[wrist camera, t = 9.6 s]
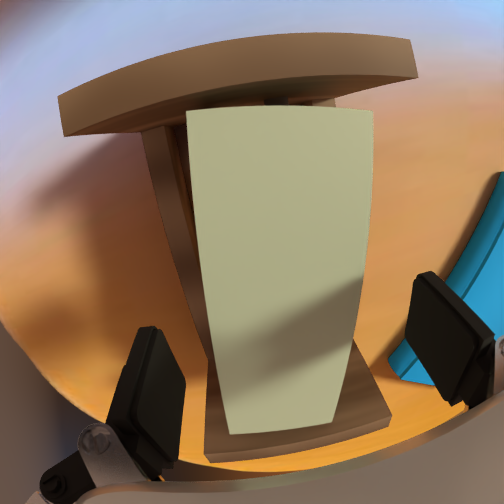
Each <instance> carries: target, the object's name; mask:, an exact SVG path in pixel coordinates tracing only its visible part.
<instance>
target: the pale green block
mask: <svg viewBox="0 0 504 504" xmlns="http://www.w3.org/2000/svg"><path fill="white" fill-rule="evenodd" d="M186 118H187V134H188V148H189V161H190V173H191V184H192V194H193V205H194V214H195V223H196V232H197V241H198V249H199V257H200V265H201V272H202V280H203V287H204V294H205V301H206V307H207V314H208V320H209V327H210V333H211V339H212V345H213V351H214V357H215V362H216V368H217V373H218V379H219V384H220V389H221V394H222V400H223V405H224V409H225V414H226V419H227V424H228V429H229V433H230V434H246V433H259V432H270V431H279V430H287V429H295V428H302V427H308V426H314V425H320V424H325V423H330V422H332V420H333V417H334V413H335V410H336V406H337V403H338V399H339V395H340V392H341V388H342V384H343V380H344V376H345V372H346V368H347V363H348V359H349V354H350V350H351V345H352V340H353V335H354V330H355V325H356V320H357V314H358V309H359V303H360V297H361V290H362V284H363V277H364V269H365V262H366V253H367V244H368V235H369V224H370V212H371V197H372V178H373V111H369V110H360V109H349V108H336V107H319V106H242V107H225V108H212V109H201V110H191V111H186Z"/></svg>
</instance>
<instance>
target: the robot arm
mask: <svg viewBox="0 0 504 504" xmlns="http://www.w3.org/2000/svg"><path fill="white" fill-rule="evenodd" d="M494 336H495V334H494V332H493V331H492V330H491V329H490V328H489V327H488V326H487V325H486V324H485V323H484V322H483V320H482V319H481V318H480V317H479V316H478V315H477V314H476V313H475V312H474V311H473V310H472V309H471V308H470V307H469V306H468V305H467V304H466V303H465V302H464V301H463V300H462V299H461V298H460V297H459V296H458V295H457V294H456V293H455V292H454V291H453V290H452V289H451V288H450V287H449V286H448V285H447V284H446V283H445V282H443V281H442V280H441V279H440V278H439V277H438V276H437V275H436V274H435V273H434V272H432V271H428V272H425V273H421V274H418V275H417V277H416V279H415V280H414V282H413V288H412V295H411V301H410V307H409V313H408V319H407V324H406V329H405V338H406V341H407V342H408V344H409V345H410V347H411V348H412V350H413V351H414V353H415V354H416V356H417V358H418V359H419V361H420V362H421V364H422V365H423V367H424V368H425V370H426V372H427V373H428V375H429V376H430V378H431V380H432V381H433V383H434V385H435V386H436V388H437V390H438V391H439V393H440V395H441V396H442V398H443V399H444V400H445V401H448V402H449V404H450V406H451V407H452V406H454V405H455V404H457V403H459V402H461V401H462V400H463V401H464V403H465V408H464V413H463V414H461V415H459V416H457V417H455V418H453V419H451V420H449V421H447V422H445V423H443V424H441V425H439V426H437V427H435V428H433V429H431V430H429V431H426V432H424V433H422V434H420V435H417V436H415V437H413V438H410V439H408V440H405V441H403V442H400V443H398V444H395V445H392V446H390V447H387V448H384V449H381V450H379V451H376V452H373V453H370V454H366V455H363V456H360V457H357V458H353V459H350V460H346V461H343V462H339V463H335V464H331V465H327V466H323V467H319V468H314V469H309V470H304V471H299V472H294V473H288V474H282V475H276V476H269V477H261V478H252V479H242V480H227V481H208V482H165V481H164V479H163V478H162V477H161V476H160V475H161V474H162V468H166V469H173V465H174V462H176V461H177V460H178V456H179V445H180V434H181V425H182V415H183V406H184V398H185V389H186V381H185V378H184V375H183V374H182V372H181V370H180V368H179V366H178V364H177V362H176V360H175V357H174V355H173V353H172V351H171V349H170V347H169V345H168V343H167V341H166V338H165V336H164V334H163V332H162V330H161V329H157V328H156V327H155V326H149V327H140V328H139V329H138V332H137V334H136V337H135V340H134V343H133V345H132V348H131V351H130V354H129V357H128V359H127V362H126V365H124V367H123V369H122V372H121V375H120V378H119V381H118V384H117V387H116V390H115V393H114V397H113V400H112V403H111V406H110V409H109V413H108V416H107V419H106V423H105V424H104V423H94V424H92V425H89V426H88V427H86V428H85V429H84V430H83V431H82V433H81V434H80V436H79V439H78V449H79V450H78V451H76V452H75V453H73V454H72V455H70V456H69V457H67V458H66V459H64V460H63V461H61V462H60V463H58V464H56V465H55V466H53V467H52V468H50V469H48V470H47V471H46V472H45V473H44V474H43V475H42V477H41V480H40V492H37V491H35V492H34V494H33V495H32V496H31V497H30V498H29V499H28V501H27V502H26V503H25V504H504V335H502V336H500V337H499V338H498V339H497V341H495V339H494Z"/></svg>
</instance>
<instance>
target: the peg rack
mask: <svg viewBox="0 0 504 504" xmlns="http://www.w3.org/2000/svg"><path fill="white" fill-rule="evenodd" d="M416 78H418V73H417V68H416V63H415V59H414V54H413V50H412V46H411V42H410V40H409V39H403V38H396V37H388V36H379V35H368V34H354V33H289V34H275V35H264V36H255V37H247V38H239V39H233V40H227V41H221V42H215V43H210V44H205V45H200V46H196V47H191V48H187V49H183V50H179V51H175V52H171V53H168V54H164V55H160V56H157V57H154V58H150V59H147V60H144V61H141V62H138V63H135V64H132V65H129V66H126V67H124V68H121V69H118V70H115V71H113V72H110V73H108V74H105V75H103V76H100V77H98V78H96V79H93V80H91V81H89V82H86V83H84V84H82V85H80V86H78V87H75V88H73V89H71V90H69V91H67V92H65V93H63V94H61V95H59V96H58V103H59V110H60V117H61V123H62V129H63V134H64V137H68V136H78V135H91V134H107V133H134V132H141V135H142V139H143V144H144V149H145V153H146V158H147V162H148V166H149V171H150V175H151V179H152V183H153V187H154V191H155V195H156V199H157V203H158V207H159V210H160V214H161V218H162V221H163V225H164V229H165V232H166V236H167V239H168V243H169V246H170V249H171V253H172V256H173V259H174V263H175V266H176V269H177V272H178V275H179V279H180V282H181V285H182V288H183V291H184V294H185V297H186V300H187V303H188V306H189V309H190V312H191V315H192V317H193V320H194V323H195V326H196V329H197V332H198V334H199V337H200V340H201V342H202V345H203V348H204V350H205V353H206V356H207V358H208V374H207V391H206V411H205V434H204V455H205V456H206V458H207V459H208V460H209V462H210V463H220V462H233V461H243V460H252V459H260V458H267V457H273V456H279V455H285V454H291V453H296V452H301V451H306V450H310V449H315V448H319V447H323V446H327V445H331V444H335V443H338V442H342V441H346V440H349V439H352V438H356V437H359V436H362V435H365V434H368V433H371V432H374V431H377V430H380V429H383V428H386V427H388V426H389V423H390V420H391V417H392V414H391V412H390V410H389V408H388V406H387V404H386V402H385V400H384V398H383V396H382V394H381V392H380V390H379V388H378V386H377V384H376V382H375V380H374V378H373V376H372V374H371V372H370V370H369V368H368V366H367V364H366V362H365V360H364V358H363V356H362V355H361V353H360V351H359V349H358V347H357V345H356V343H355V341H354V339H353V340H352V345H351V350H350V354H349V359H348V363H347V368H346V372H345V376H344V380H343V384H342V388H341V392H340V395H339V399H338V403H337V406H336V410H335V413H334V417H333V420H332V422H330V423H325V424H320V425H314V426H308V427H302V428H295V429H287V430H279V431H270V432H259V433H246V434H230V433H229V429H228V424H227V419H226V414H225V409H224V405H223V400H222V394H221V389H220V384H219V379H218V373H217V368H216V362H215V357H214V351H213V345H212V339H211V333H210V327H209V320H208V314H207V307H206V301H205V294H204V287H203V280H202V272H201V265H200V257H199V249H198V241H197V232H196V225H195V221H194V216H193V212H192V208H191V204H190V200H189V196H188V191H187V187H186V183H185V178H184V174H183V169H182V165H181V160H180V156H179V151H178V146H177V142H176V137H175V132H174V127H175V126H179V125H183V124H187V118H186V111H191V110H201V109H212V108H225V107H242V106H289V105H297V104H300V106H319V107H336V105H335V100H334V98H337V97H340V96H344V95H347V94H351V93H354V92H358V91H362V90H366V89H370V88H374V87H378V86H382V85H387V84H391V83H396V82H400V81H405V80H410V79H416Z"/></svg>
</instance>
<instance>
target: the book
mask: <svg viewBox="0 0 504 504" xmlns="http://www.w3.org/2000/svg"><path fill="white" fill-rule="evenodd" d="M445 283H446V284H447V285H448V286H449V287H450V288H451V289H452V290H453V291H454V292H455V293H456V294H457V295H458V296H459V297H460V298H461V299H462V300H463V301H464V302H465V303H466V304H467V305H468V306H469V307H470V308H471V309H472V310H473V311H474V312H475V313H476V314H477V315H478V316H479V317H480V318H481V319H482V320H483V322H484V323H485V324H486V325H487V326H488V327H489V328H490V329H491V330H492V331H493V332H494V334H495V336H494V339H495V341H497V339H498V338H499V337H500V336H502V335H504V172H501V174H500V177H499V179H498V182H497V184H496V186H495V189H494V191H493V193H492V196H491V198H490V200H489V203H488V205H487V207H486V209H485V211H484V213H483V215H482V217H481V219H480V221H479V223H478V225H477V227H476V229H475V231H474V233H473V235H472V237H471V239H470V241H469V243H468V244H467V246H466V248H465V250H464V252H463V253H462V255H461V257H460V259H459V260H458V262H457V264H456V265H455V267H454V269H453V270H452V272H451V274H450V275H449V277H448V278H447V280H446V282H445ZM388 362H389V364H390V366H391V368H392V369H393V371H394V372H395V373H396V374H397V375H398V376H399V377H400V379H401V380H407V381H412V382H418V383H423V384H429V385H434V383H433V381H432V380H431V378H430V376H429V375H428V373H427V372H426V370H425V368H424V367H423V365H422V364H421V362H420V361H419V359H418V358H417V356H416V354H415V353H414V351H413V350H412V348H411V347H410V345H409V344H408V342H407V341H406V338H405V339H404V340H403V341H402V343H401V344H400V345H399V346H398V348H397V349H396V350H395V351H394V352H393V354H392V355H391V356H390V357H389V358H388Z"/></svg>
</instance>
